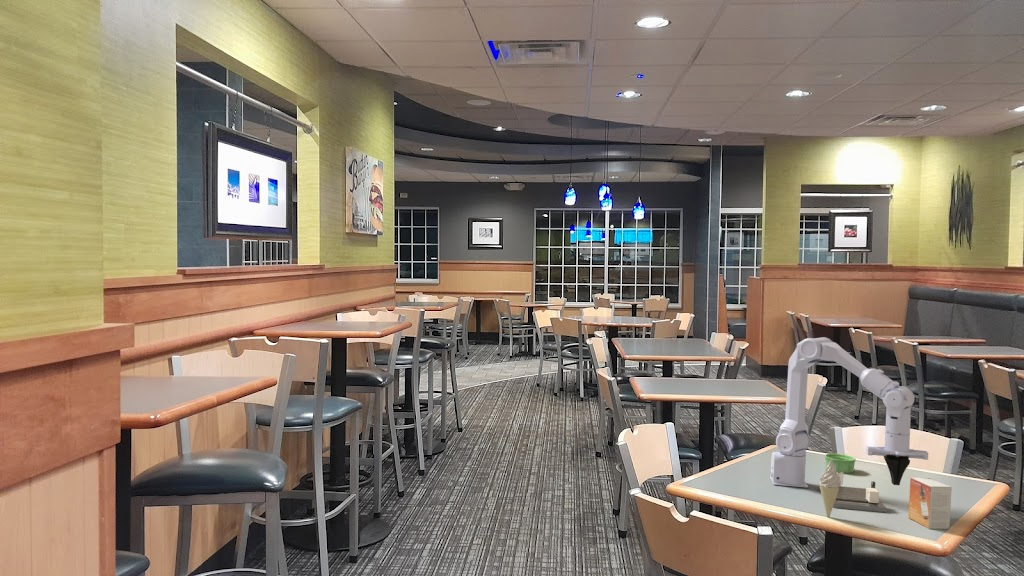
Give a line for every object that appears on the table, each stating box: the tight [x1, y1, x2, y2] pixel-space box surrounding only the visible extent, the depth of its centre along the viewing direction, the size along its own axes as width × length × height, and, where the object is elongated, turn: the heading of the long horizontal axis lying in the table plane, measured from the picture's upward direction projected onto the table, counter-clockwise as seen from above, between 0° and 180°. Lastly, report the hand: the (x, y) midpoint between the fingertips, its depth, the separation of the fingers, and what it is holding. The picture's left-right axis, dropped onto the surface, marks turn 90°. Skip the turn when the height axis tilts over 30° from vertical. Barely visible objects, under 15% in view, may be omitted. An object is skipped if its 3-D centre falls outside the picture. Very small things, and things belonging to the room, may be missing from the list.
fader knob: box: [865, 487, 880, 503], centre depth 191 cm, size 2×4×3 cm, turn 168°
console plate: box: [818, 481, 888, 513], centre depth 196 cm, size 13×18×6 cm
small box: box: [907, 477, 953, 530], centre depth 179 cm, size 8×6×10 cm
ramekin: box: [824, 453, 857, 474], centre depth 229 cm, size 9×9×4 cm
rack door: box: [837, 472, 844, 486], centre depth 203 cm, size 10×1×3 cm, turn 141°
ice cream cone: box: [818, 459, 841, 518], centre depth 181 cm, size 5×5×15 cm
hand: (895, 484), depth 189 cm, fingers closed
